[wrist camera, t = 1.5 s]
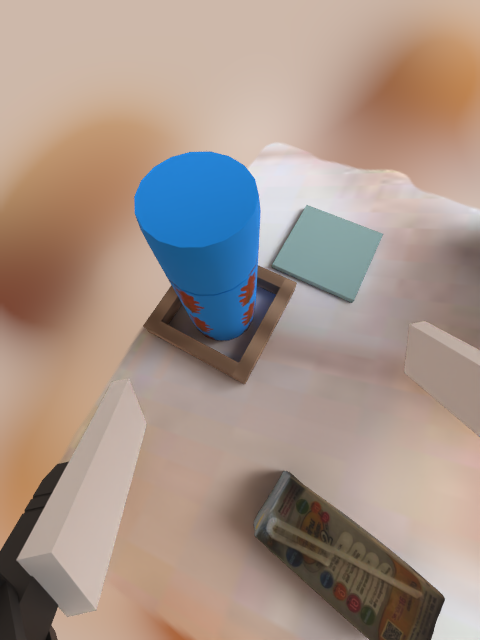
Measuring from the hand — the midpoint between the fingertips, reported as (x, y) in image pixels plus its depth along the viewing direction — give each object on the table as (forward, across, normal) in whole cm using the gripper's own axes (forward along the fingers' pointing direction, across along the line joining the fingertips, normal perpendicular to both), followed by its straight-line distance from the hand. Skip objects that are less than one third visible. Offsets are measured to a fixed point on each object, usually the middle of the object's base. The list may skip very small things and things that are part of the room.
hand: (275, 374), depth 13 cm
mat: (+38, +18, -4) cm, 42 cm away
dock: (+32, -2, -9) cm, 34 cm away
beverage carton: (+9, +6, -34) cm, 35 cm away
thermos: (+33, -2, -9) cm, 34 cm away
